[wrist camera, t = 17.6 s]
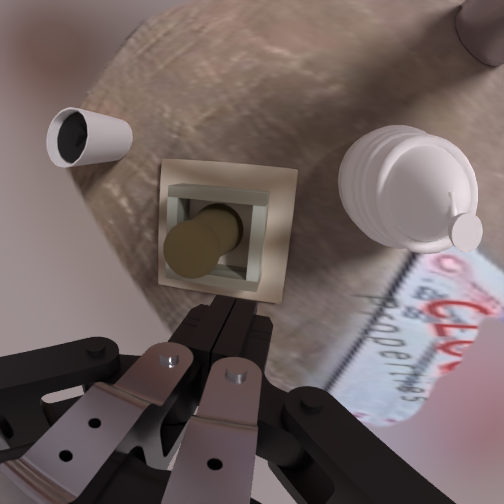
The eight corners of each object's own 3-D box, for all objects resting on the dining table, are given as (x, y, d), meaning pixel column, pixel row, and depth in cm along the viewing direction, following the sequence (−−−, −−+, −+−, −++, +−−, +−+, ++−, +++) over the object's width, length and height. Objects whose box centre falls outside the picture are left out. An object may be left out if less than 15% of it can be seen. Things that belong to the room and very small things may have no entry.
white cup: (118, 105, 35) (71, 94, 26) (144, 139, 36) (99, 135, 27) (88, 140, 37) (39, 139, 28) (112, 174, 38) (63, 180, 28)
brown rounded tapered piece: (205, 260, 38) (170, 296, 27) (185, 214, 37) (142, 234, 26) (251, 244, 36) (231, 276, 26) (231, 195, 35) (202, 208, 25)
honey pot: (444, 226, 33) (531, 274, 16) (349, 247, 36) (386, 318, 19) (426, 123, 30) (513, 99, 13) (325, 139, 33) (350, 114, 16)
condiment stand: (166, 158, 36) (146, 158, 31) (298, 169, 34) (297, 169, 30) (162, 280, 41) (144, 295, 36) (281, 299, 39) (278, 319, 34)
